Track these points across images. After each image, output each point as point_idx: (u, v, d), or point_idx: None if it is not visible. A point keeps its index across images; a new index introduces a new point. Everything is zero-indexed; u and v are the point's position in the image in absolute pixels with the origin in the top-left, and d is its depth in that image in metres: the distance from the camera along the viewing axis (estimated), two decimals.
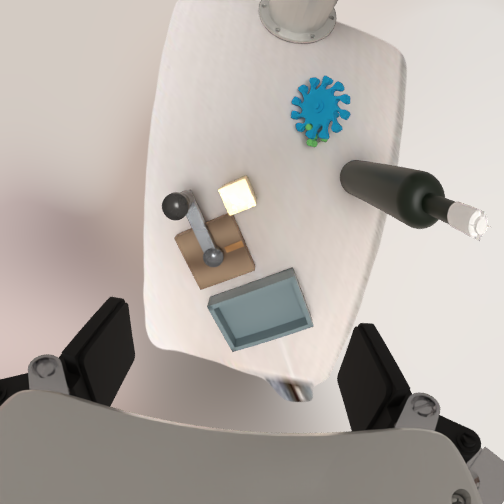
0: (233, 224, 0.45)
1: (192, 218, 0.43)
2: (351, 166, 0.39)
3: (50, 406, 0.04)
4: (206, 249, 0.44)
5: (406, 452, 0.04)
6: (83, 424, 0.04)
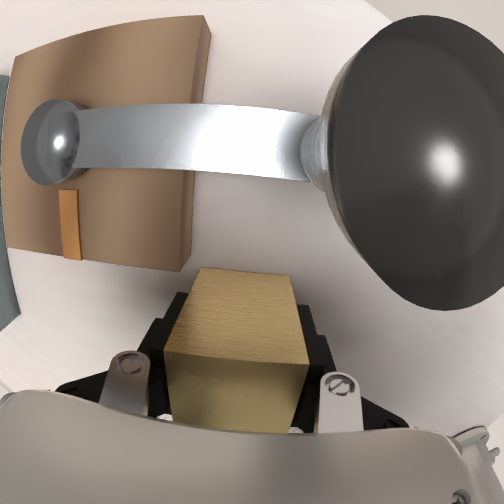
0: (140, 262, 0.11)
1: (239, 131, 0.08)
2: None
3: (50, 406, 0.04)
4: (80, 128, 0.08)
5: (406, 452, 0.04)
6: (83, 424, 0.04)
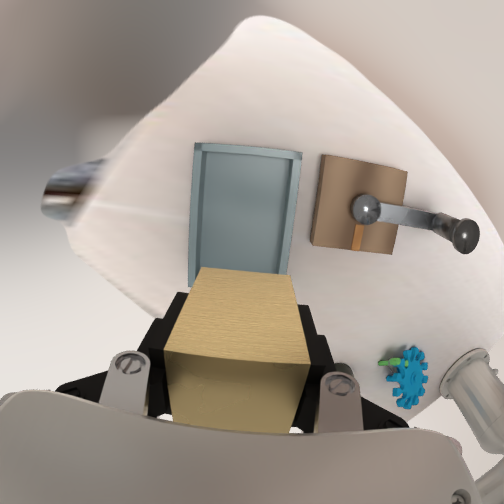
0: (380, 251, 0.31)
1: (420, 217, 0.28)
2: None
3: (50, 406, 0.04)
4: (381, 208, 0.28)
5: (406, 452, 0.04)
6: (83, 424, 0.04)
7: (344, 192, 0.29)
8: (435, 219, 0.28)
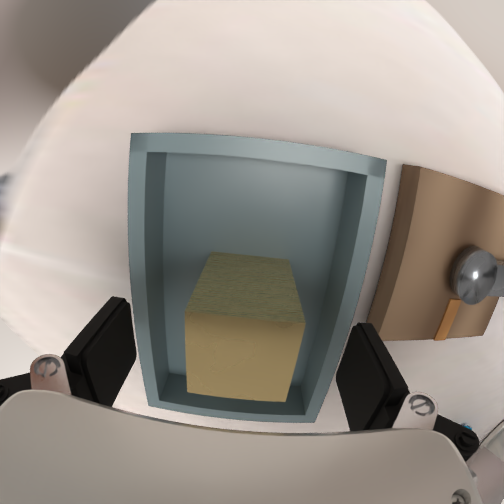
0: (470, 334, 0.15)
1: None
2: None
3: (50, 406, 0.04)
4: (497, 275, 0.12)
5: (406, 452, 0.04)
6: (83, 424, 0.04)
7: (443, 243, 0.13)
8: None
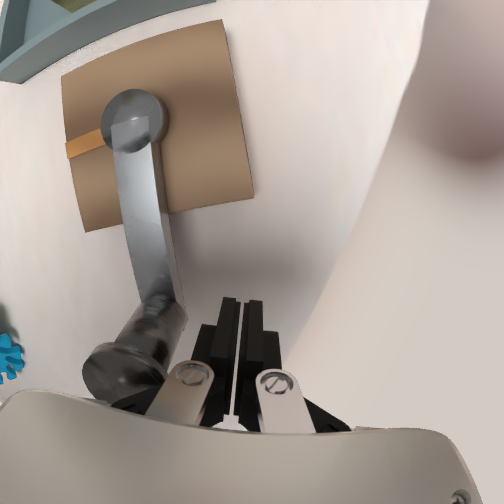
0: (81, 204, 0.14)
1: (153, 261, 0.14)
2: None
3: (50, 406, 0.04)
4: (138, 152, 0.12)
5: (406, 452, 0.04)
6: (83, 424, 0.04)
7: (158, 75, 0.12)
8: (161, 299, 0.14)
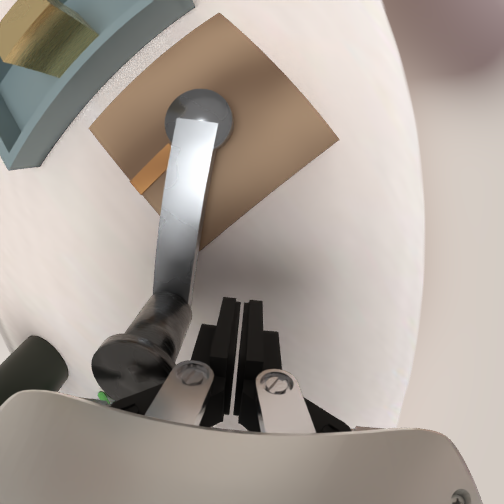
0: None
1: (178, 261, 0.14)
2: None
3: (50, 406, 0.04)
4: (198, 154, 0.13)
5: (406, 452, 0.04)
6: (83, 424, 0.04)
7: (194, 78, 0.13)
8: (175, 299, 0.14)
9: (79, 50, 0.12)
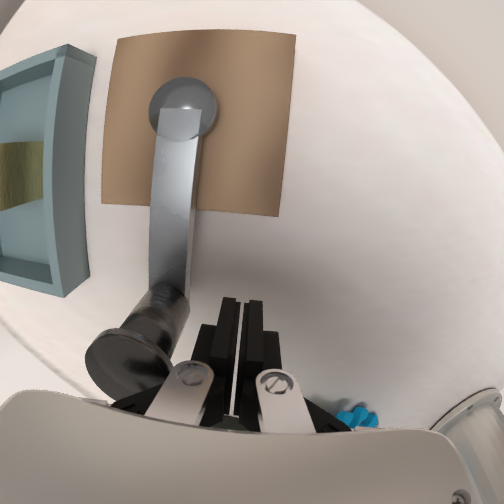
0: (246, 209, 0.15)
1: (171, 253, 0.14)
2: None
3: (50, 406, 0.04)
4: (183, 142, 0.12)
5: (406, 452, 0.04)
6: (83, 424, 0.04)
7: (148, 91, 0.13)
8: (171, 291, 0.14)
9: (40, 164, 0.15)
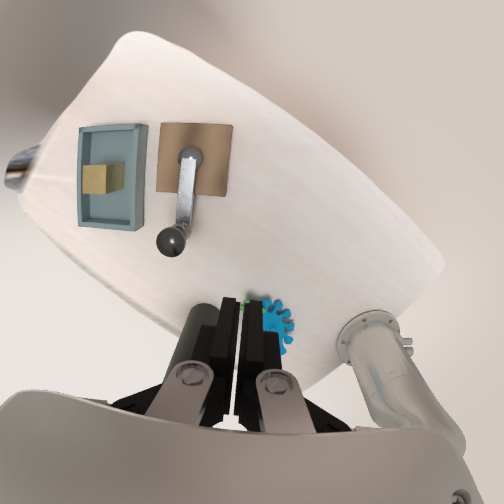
0: (212, 194, 0.39)
1: (185, 209, 0.38)
2: None
3: (50, 406, 0.04)
4: (190, 170, 0.37)
5: (406, 452, 0.04)
6: (83, 424, 0.04)
7: (175, 148, 0.37)
8: (184, 223, 0.38)
9: (123, 173, 0.39)
